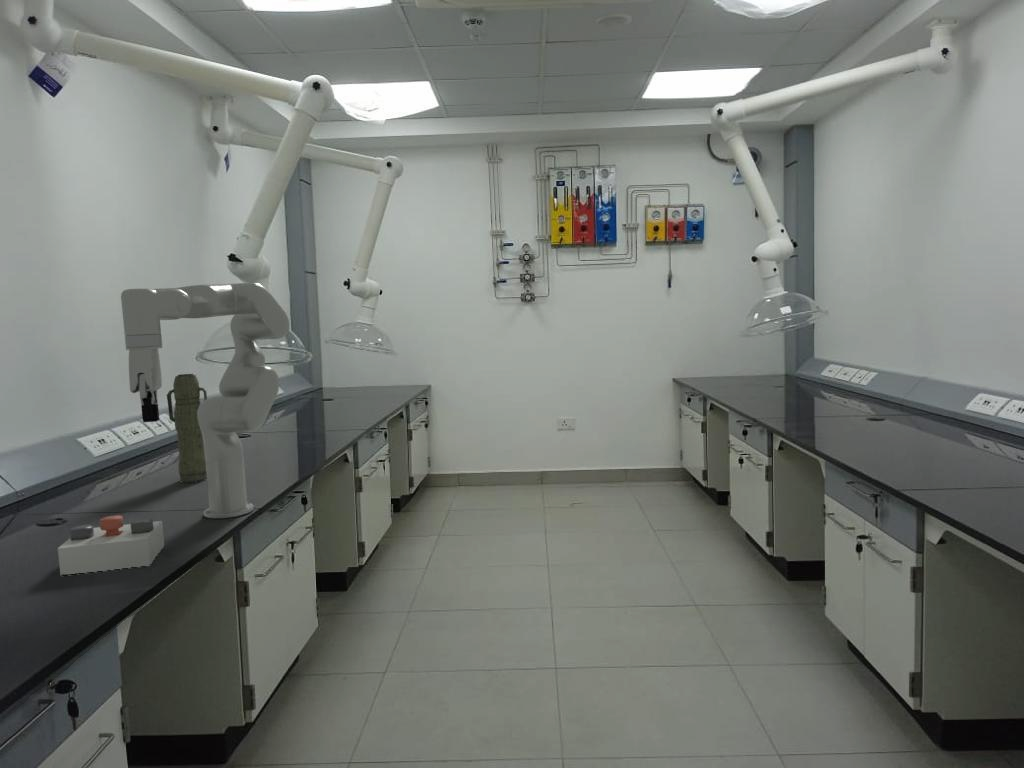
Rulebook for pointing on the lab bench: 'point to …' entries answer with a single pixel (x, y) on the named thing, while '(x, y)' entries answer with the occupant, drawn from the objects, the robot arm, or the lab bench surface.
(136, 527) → the grey knob
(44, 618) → the lab bench surface
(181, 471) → the thermos
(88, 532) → the grey knob
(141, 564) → the control box
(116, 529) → the red knob
